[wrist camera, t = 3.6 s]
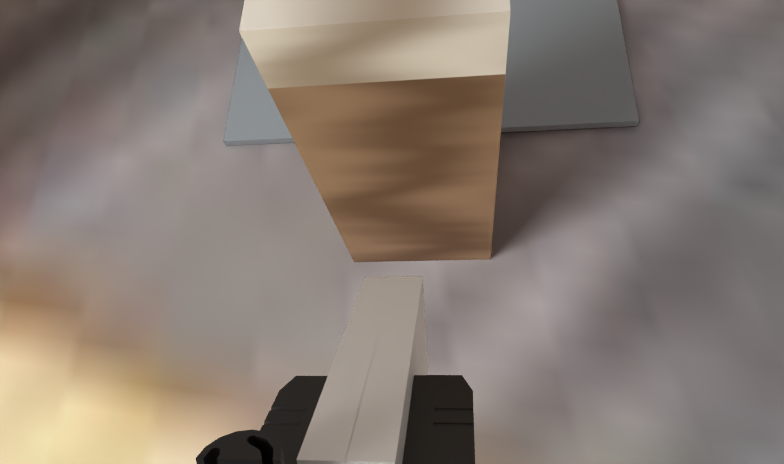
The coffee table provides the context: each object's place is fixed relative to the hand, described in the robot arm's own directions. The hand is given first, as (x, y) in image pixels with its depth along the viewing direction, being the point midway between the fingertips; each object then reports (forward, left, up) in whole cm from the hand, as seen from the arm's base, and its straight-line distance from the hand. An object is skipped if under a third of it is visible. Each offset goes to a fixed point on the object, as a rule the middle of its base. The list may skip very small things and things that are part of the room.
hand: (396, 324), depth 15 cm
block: (0, +8, -9) cm, 12 cm away
